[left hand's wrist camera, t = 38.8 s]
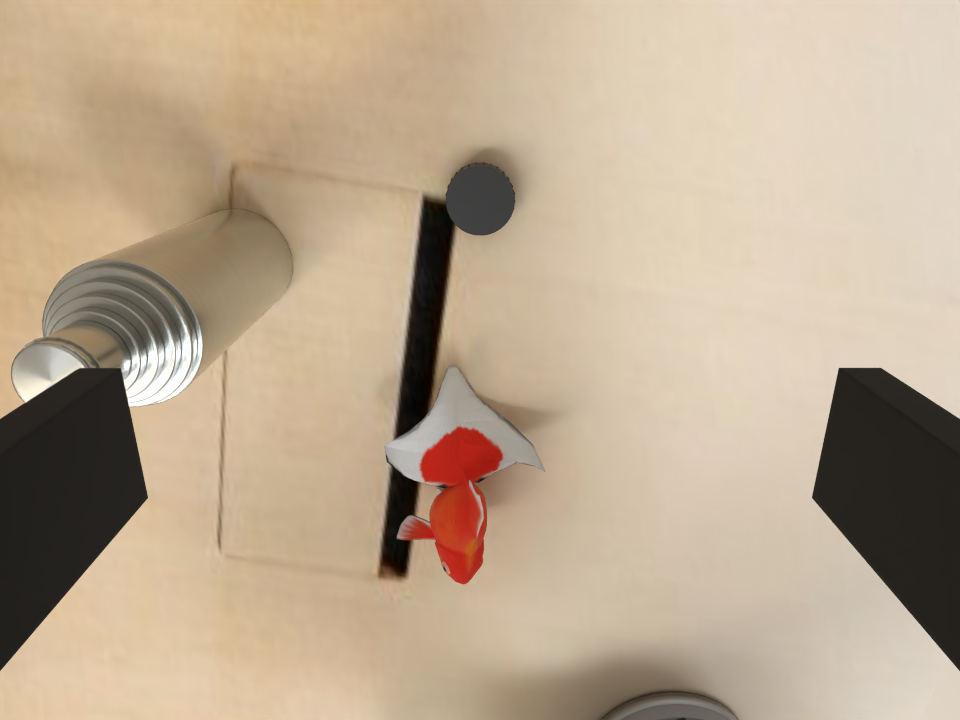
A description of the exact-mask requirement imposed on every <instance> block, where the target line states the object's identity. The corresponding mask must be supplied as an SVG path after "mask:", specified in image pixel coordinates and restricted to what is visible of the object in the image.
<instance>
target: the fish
mask: <svg viewBox="0 0 960 720" xmlns="http://www.w3.org/2000/svg"><path fill="white" fill-rule="evenodd" d="M385 452H386V459H387V462H388V463H389V464H390V465H391V466H392V467H394V468H395V469H396V470H397V471H398V472H400V473H401V474H402V475H404V476H406V477H408V478H410V479H412V480H415V481H418V482H422V483H425V484H429V485H433V486H437V487H441V488H447V489H445V490H443V491H442V490H440V489H438V488H437V489H436V492H437V494H438V496H437V497H436V498H435V500H434V502H433V504H432V506H431V509H430V522H428V521H426V520H424V519H422V518H419V517H417V516H415V515H408V516H407V517H406V518H405V520H404V521H403V522H402V523H401V525H400V528H399V531H398V534H397V539H399V540H420V539H435V540H436V542H435V545H436V548H437V550H438V553H439V557H440V560H441V563H442V566H443V569H444V571H445V572H446V573H447V574H448V575H449V576H450V577H451V578H452V579H453V580H454V581H456V582H458V583H461V584H466V583H468V582H469V581H470V580H471V579H472V577H473V576H474V574H475V573H476V572H477V571H478V569H479V568H480V567H481V565H482V563H483V551H484V539H483V538H484V535H485V531H486V527H487V510H486V503H485V498H484V495H483V493H482V492H481V490H480V489H479V488H478V487H477V486H476V485H475V484H473V483H475V482H481V481H482V480H484V479H485V478H487V477H488V476H490V475H492V474H493V473H495V472H496V471H498V470H501V469H504V468H507V467H509V466H511V465H513V464H515V463H517V462H518V463H522V464H527V465H531V466H536V467H538V468H540V469H541V470H543V471H545V470H544V468H543V466H542V463H541V461H540V459H539V457H538V455H537V453H536V451H535V448H534V446H533V444H532V443H531V442H530V441H529V440H528V439H527V438H525V437H524V436H523V435H522V434H521V433H520V432H519V431H518V430H517V429H516V428H515V427H514V426H513V425H512V424H511V423H510V422H509V421H508V420H506V419H505V418H504V417H503V416H501V415H500V414H499V413H497V412H496V411H495V410H493V409H492V408H491V407H490V406H489V405H487V404H486V403H485V402H484V401H483V400H481V399H480V398H479V397H478V396H477V395H476V394H475V393H474V391H473V390H472V388H471V386H470V385H469V383H468V382H467V380H466V379H465V378H464V376H463V375H462V373H461V371H460V370H459V368H458V367H457V366H456V365H452V366H449V367H448V369H447V371H446V374H445V376H444V379H443V382H442V385H441V387H440V390H439V392H438V395H437V398H436V401H435V403H434V406H433V408H432V409H431V410H430V411H429V413H428V414H427V415H426V417H425V418H424V419H423V420H422V421H421V422H420V423H418V424H417V425H416V426H415V427H414V428H412V429H411V430H410V431H408V432H407V433H405V434H403V435H402V436H400V437H398V438H396V439H395V440H393V441H391V442H390V443H388V444H386V445H385Z"/></svg>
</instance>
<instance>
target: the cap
mask: <svg viewBox="0 0 960 720" xmlns="http://www.w3.org/2000/svg"><path fill="white" fill-rule="evenodd" d="M512 187H513V186H512V183H510V181H509V178H508V177H507V176H506V175H505V174H504V172H502V171H501V170H500V169H498V167H495V166H493V165H491V164H486V163H484V162H483V163H477V162H476V163H475V164H471V165H470V164H468V166H466V167H464V168H463V167H462V169H461V170H460V171H459V172H458V173H457V172H456V174H455V176H454V177H453V178H452V179H451V183H450V185H448V191H447V193H446V206H447V211H448V213H449V215H450V218H451V219H452V221H453V222H454V223H455V224H456V226H458V227H459V228H460V229H461V230H463V231H465V232H467V233H469V234H473V235H488V234H491V233H494V232H496V231H498V230H499V229H501V228H502V227H503V226H504V225H505V224H506V223H507V222H508V220H509V219H510V217H511V215H512V212H513V210H514V203H515V198H514V195H515V193H514V191H513V188H512Z"/></svg>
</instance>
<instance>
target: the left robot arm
mask: <svg viewBox="0 0 960 720" xmlns="http://www.w3.org/2000/svg"><path fill="white" fill-rule="evenodd" d="M147 498H148V496H147V491H146V486H145V481H144V476H143V471H142V467H141V462H140V457H139V452H138V447H137V443H136V438H135V433H134V428H133V423H132V418H131V414H130V409H129V404H128V399H127V394H126V389H125V385H124V380H123V375H122V370H121V368H78V369H77V370H75V371H74V372H72V373H71V374H69V375H68V376H66V377H64V378H63V379H61V380H60V381H58V382H57V383H55V384H54V385H52V386H51V387H49V388H47V389H46V390H44V391H43V392H41V393H40V394H38V395H37V396H35V397H34V398H32V399H30V400H29V401H27V402H26V403H24V404H23V405H21V406H20V407H18V408H17V409H15V410H13V411H12V412H10V413H9V414H7V415H6V416H4V417H3V418H1V419H0V671H1V669H2V668H3V667H4V666H5V665H6V664H7V662H8V661H9V660H10V659H11V658H12V657H13V655H14V654H15V653H16V652H17V651H18V649H19V648H20V647H21V646H22V645H23V644H24V642H25V641H26V640H27V639H28V638H29V637H30V635H31V634H32V633H33V632H34V631H35V630H36V628H37V627H38V626H39V625H40V624H41V623H42V621H43V620H44V619H45V618H46V617H47V615H48V614H49V613H50V612H51V611H52V610H53V608H54V607H55V606H56V605H57V604H58V603H59V601H60V600H61V599H62V598H63V597H64V596H65V594H66V593H67V592H68V591H69V590H70V589H71V587H72V586H73V585H74V584H75V583H76V582H77V580H78V579H79V578H80V577H81V576H82V574H83V573H84V572H85V571H86V570H87V569H88V567H89V566H90V565H91V564H92V563H93V562H94V560H95V559H96V558H97V557H98V556H99V555H100V553H101V552H102V551H103V550H104V549H105V548H106V546H107V545H108V544H109V543H110V542H111V540H112V539H113V538H114V537H115V536H116V535H117V533H118V532H119V531H120V530H121V529H122V528H123V526H124V525H125V524H126V523H127V522H128V521H129V519H130V518H131V517H132V516H133V515H134V514H135V512H136V511H137V510H138V509H139V508H140V507H141V505H142V504H143V503H144V502H145V501H146V499H147ZM812 498H813V499H814V501H815V502H816V503H817V504H818V505H819V507H820V508H821V509H822V510H823V511H824V512H825V514H826V515H827V516H828V517H829V518H830V519H831V521H832V522H833V523H834V524H835V525H836V526H837V528H838V529H839V530H840V531H841V532H842V533H843V535H844V536H845V537H846V538H847V539H848V540H849V542H850V543H851V544H852V545H853V546H854V548H855V549H856V550H857V551H858V552H859V553H860V555H861V556H862V557H863V558H864V559H865V560H866V562H867V563H868V564H869V565H870V566H871V567H872V569H873V570H874V571H875V572H876V573H877V574H878V576H879V577H880V578H881V579H882V580H883V582H884V583H885V584H886V585H887V586H888V587H889V589H890V590H891V591H892V592H893V593H894V594H895V596H896V597H897V598H898V599H899V600H900V601H901V603H902V604H903V605H904V606H905V607H906V608H907V610H908V611H909V612H910V613H911V614H912V615H913V617H914V618H915V619H916V620H917V621H918V623H919V624H920V625H921V626H922V627H923V628H924V630H925V631H926V632H927V633H928V634H929V635H930V637H931V638H932V639H933V640H934V641H935V642H936V644H937V645H938V646H939V647H940V648H941V649H942V651H943V652H944V653H945V654H946V655H947V657H948V658H949V659H950V660H951V661H952V662H953V664H954V665H955V666H956V667H957V668H958V669H959V671H960V419H959V418H957V417H956V416H954V415H953V414H951V413H950V412H948V411H947V410H945V409H943V408H942V407H940V406H939V405H937V404H936V403H934V402H933V401H931V400H930V399H928V398H926V397H925V396H923V395H922V394H920V393H919V392H917V391H916V390H914V389H913V388H911V387H909V386H908V385H906V384H905V383H903V382H902V381H900V380H899V379H897V378H896V377H894V376H892V375H891V374H889V373H888V372H886V371H885V370H883V369H882V368H839V370H838V375H837V380H836V385H835V389H834V394H833V399H832V404H831V409H830V414H829V418H828V423H827V428H826V433H825V438H824V443H823V447H822V452H821V457H820V462H819V467H818V471H817V476H816V481H815V486H814V491H813V496H812ZM602 720H738V719H737V718H736V717H735V716H734V715H733V714H732V713H731V712H730V711H729V710H728V709H727V708H726V707H724V706H723V705H721V704H719V703H718V702H716V701H714V700H712V699H709V698H706V697H703V696H700V695H696V694H691V693H683V692H664V693H656V694H650V695H646V696H642V697H639V698H636V699H633V700H631V701H629V702H626V703H624V704H623V705H621V706H619V707H617V708H616V709H614V710H613V711H611V712H610V713H609V714H607V715H606V716H605V717H604V718H603V719H602Z"/></svg>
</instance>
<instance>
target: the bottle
mask: <svg viewBox="0 0 960 720" xmlns="http://www.w3.org/2000/svg"><path fill="white" fill-rule="evenodd" d="M292 272H293V262H292V256H291V252H290V249H289V246H288V244H287V242H286V240H285V239H284V237H283V235H282V234H281V233H280V231H279V230H278V229H277V228H276V227H275V226H274V225H273V224H272V223H270V222H269V221H268V220H266V219H265V218H263V217H262V216H260V215H258V214H256V213H253V212H250V211H246V210H241V209H227V210H221V211H218V212H215V213H212V214H210V215H207V216H205V217H202V218H200V219H197V220H195V221H192V222H189V223H187V224H184V225H182V226H179V227H177V228H174V229H172V230H169V231H166V232H164V233H161V234H159V235H156V236H154V237H151V238H149V239H146V240H144V241H141V242H138V243H136V244H133V245H131V246H128V247H126V248H123V249H121V250H118V251H115V252H113V253H110V254H108V255H105V256H103V257H100V258H98V259H95V260H92V261H90V262H87V263H85V264H82V265H80V266H78V267H76V268H74V269H73V270H71V271H70V272H69V273H67V274H66V275H65V276H64V277H63V278H62V279H61V280H60V281H59V282H58V284H57V285H56V286H55V288H54V290H53V292H52V294H51V295H50V297H49V299H48V301H47V303H46V306H45V310H44V314H43V335H44V337H43V338H38V339H35V340H34V341H32V342H30V343H28V344H27V345H25V346H24V348H23V349H22V350H21V351H20V352H19V353H18V354H17V356H16V357H15V359H14V361H13V364H12V368H11V378H12V383H13V386H14V388H15V390H16V392H17V394H18V395H19V397H20V398H21V399H22V400H23V401H24V402H25V403H26V402H27V401H29V400H30V399H32V398H34V397H35V396H37V395H38V394H40V393H41V392H43V391H44V390H46V389H47V388H49V387H51V386H52V385H54V384H55V383H57V382H58V381H60V380H61V379H63V378H64V377H66V376H68V375H69V374H71V373H72V372H74V371H75V370H77V369H78V368H121V370H122V375H123V380H124V385H125V389H126V394H127V399H128V404H129V407H140V406H146V405H152V404H157V403H161V402H164V401H167V400H169V399H171V398H173V397H175V396H176V395H178V394H179V393H181V392H182V391H183V390H184V389H185V388H187V387H188V386H189V385H190V384H191V383H192V382H193V381H194V380H195V379H196V378H197V377H198V376H199V375H200V374H201V373H202V372H203V371H205V370H206V369H207V368H208V367H209V366H210V365H211V364H212V363H213V362H214V361H215V360H216V359H217V358H218V357H219V356H220V355H221V354H222V353H223V352H225V351H226V350H227V349H228V348H229V347H230V346H231V345H232V344H233V343H234V342H235V341H236V340H237V339H238V338H239V337H240V336H241V335H242V334H243V333H244V332H246V331H247V330H248V329H249V328H250V327H251V326H252V325H253V324H254V323H255V322H256V321H257V320H258V319H259V318H260V317H261V316H262V315H263V314H264V313H266V312H267V311H268V310H269V309H270V308H271V307H272V306H273V305H274V304H275V303H276V302H277V301H278V300H279V299H280V298H281V297H282V296H283V295H284V293H285V292H286V290H287V289H288V286H289V284H290V281H291V278H292Z"/></svg>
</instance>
